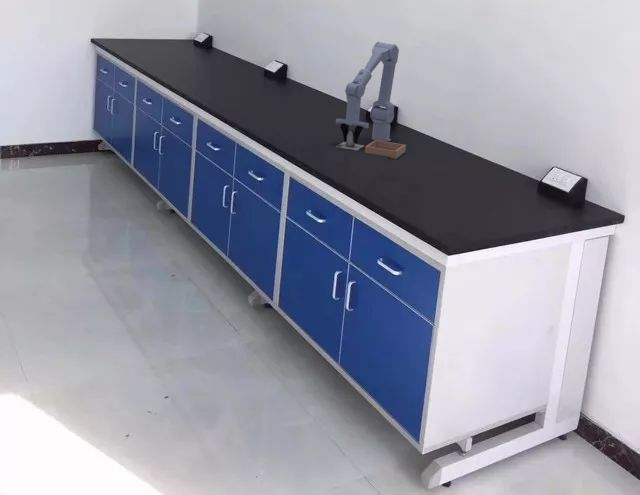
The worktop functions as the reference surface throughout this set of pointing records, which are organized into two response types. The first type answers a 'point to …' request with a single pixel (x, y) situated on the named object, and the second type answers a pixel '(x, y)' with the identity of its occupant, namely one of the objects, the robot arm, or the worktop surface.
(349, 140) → the cell
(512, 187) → the worktop surface
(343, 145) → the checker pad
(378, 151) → the bin
